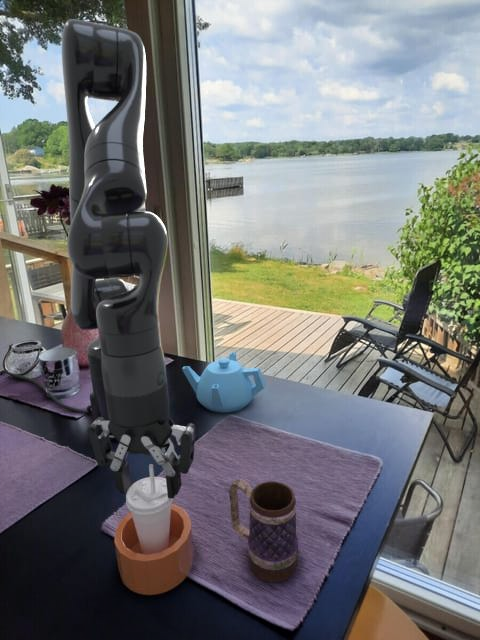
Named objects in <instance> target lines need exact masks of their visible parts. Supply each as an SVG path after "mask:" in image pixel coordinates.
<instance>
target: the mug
mask: <svg viewBox="0 0 480 640" xmlns="http://www.w3.org/2000/svg"><path fill="white" fill-rule="evenodd" d="M238 490H240V491H242V492H243V493H244V496H245V498H246V499H248V501H249V505H248V506H249V508H248V510H249V523H248V524H249V525H248V526H249V527H245V526H244V525H243V524H242V523H241V520H240V511H239V510H240V509H239V497H238ZM228 497H229V504H230V521H231V522H230V523H231V527H232V529H233V531H234V532H236V533H237V535H239V536H240V537H242V538H244V539H245V540H247V554H248V565H249V569H250V571H251V572H252V574H253V575H254V576H255V577H257V578H259V579H260V580H262V581H265V582H268V583H280V582H284V581H286V580H288V579H289V578H291V577H292V576H293V575H294V573H295V572H296V571H297V567H298V555H299V538H298V536H297V513H296V512H297V502H296V497H295V493H294V491H293V489H292V488H291V487H290V486H289V485H287V484H285V483H283V482H279V481H274V480H273V481H272V480H271V481H269V480H268V481H264V482H261V483H259V484H257V485H256V486H255V487H253V489H252V487H251V484H249V482H248V481H247V480H245V479H243V478H240V479H235V480H232V483H231V485H230V487H229V489H228Z"/></svg>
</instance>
